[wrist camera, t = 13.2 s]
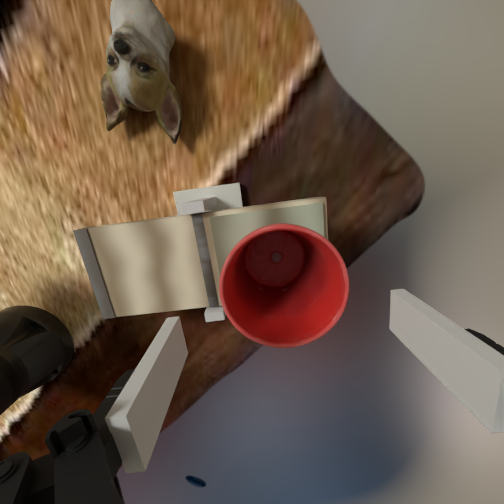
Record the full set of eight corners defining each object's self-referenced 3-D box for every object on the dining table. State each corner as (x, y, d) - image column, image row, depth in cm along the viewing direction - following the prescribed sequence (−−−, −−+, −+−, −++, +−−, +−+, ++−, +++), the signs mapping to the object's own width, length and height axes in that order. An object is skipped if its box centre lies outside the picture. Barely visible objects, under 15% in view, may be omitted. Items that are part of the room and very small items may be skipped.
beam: (113, 309, 34) (102, 319, 31) (87, 227, 31) (72, 231, 28) (325, 286, 32) (331, 294, 30) (320, 196, 29) (327, 197, 26)
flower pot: (317, 205, 27) (350, 216, 17) (321, 293, 30) (350, 344, 20) (225, 215, 27) (208, 232, 18) (237, 301, 30) (228, 353, 21)
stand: (197, 296, 41) (179, 335, 31) (175, 191, 37) (144, 194, 26) (309, 283, 41) (329, 317, 30) (301, 174, 36) (322, 169, 25)
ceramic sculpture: (175, -30, 23) (164, 140, 27) (197, 24, 31) (185, 147, 36) (62, -56, 22) (71, 121, 27) (114, 5, 30) (114, 132, 35)
